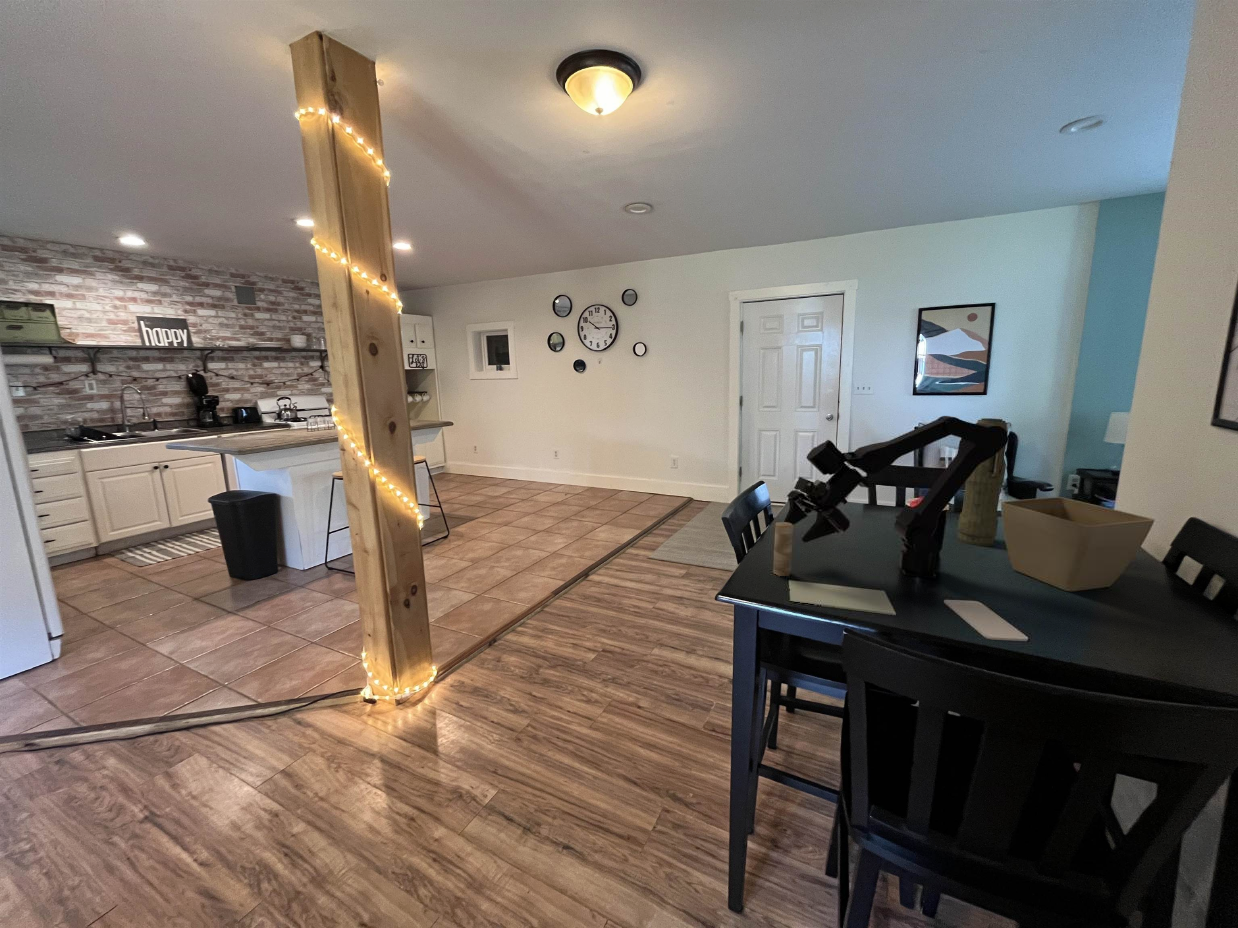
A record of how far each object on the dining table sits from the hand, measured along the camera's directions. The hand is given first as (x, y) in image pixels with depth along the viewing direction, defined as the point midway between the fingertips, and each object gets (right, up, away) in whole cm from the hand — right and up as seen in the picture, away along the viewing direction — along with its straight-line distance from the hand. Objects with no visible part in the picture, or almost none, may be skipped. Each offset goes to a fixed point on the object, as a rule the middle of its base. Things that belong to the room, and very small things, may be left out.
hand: (792, 534), depth 115 cm
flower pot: (+62, -10, -3) cm, 63 cm away
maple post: (-2, -10, +1) cm, 10 cm away
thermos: (+61, -5, +22) cm, 65 cm away
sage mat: (+6, -12, -11) cm, 17 cm away
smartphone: (+30, -14, -21) cm, 39 cm away
